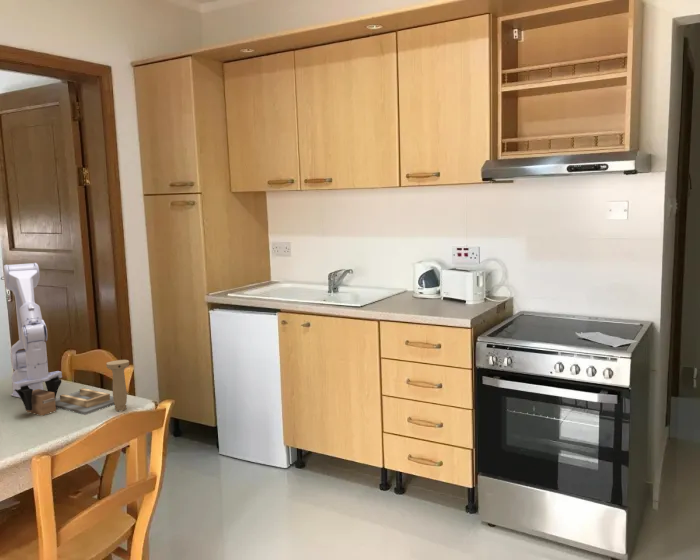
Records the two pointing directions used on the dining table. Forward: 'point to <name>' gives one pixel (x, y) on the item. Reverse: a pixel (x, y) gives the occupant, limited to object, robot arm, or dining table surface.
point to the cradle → (84, 401)
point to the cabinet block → (42, 402)
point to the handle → (119, 383)
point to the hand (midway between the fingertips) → (40, 406)
